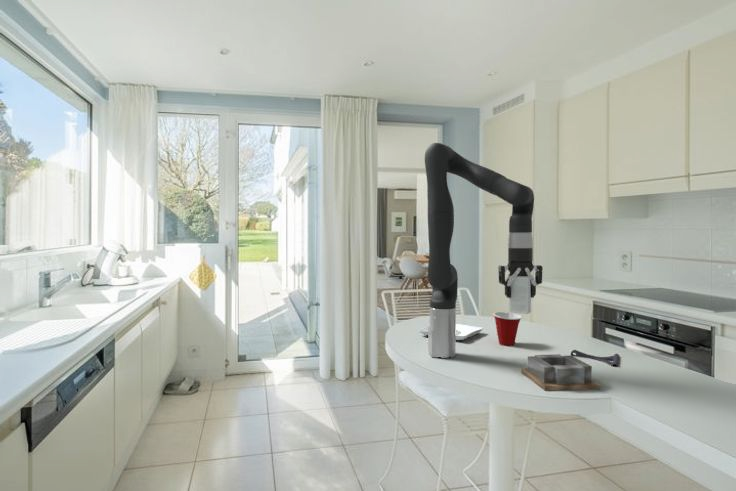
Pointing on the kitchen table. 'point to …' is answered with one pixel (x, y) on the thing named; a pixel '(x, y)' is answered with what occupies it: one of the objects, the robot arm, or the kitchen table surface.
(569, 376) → the holder
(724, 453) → the kitchen table surface
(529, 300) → the skincare box
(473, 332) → the salad plate
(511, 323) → the plastic cup
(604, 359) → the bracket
